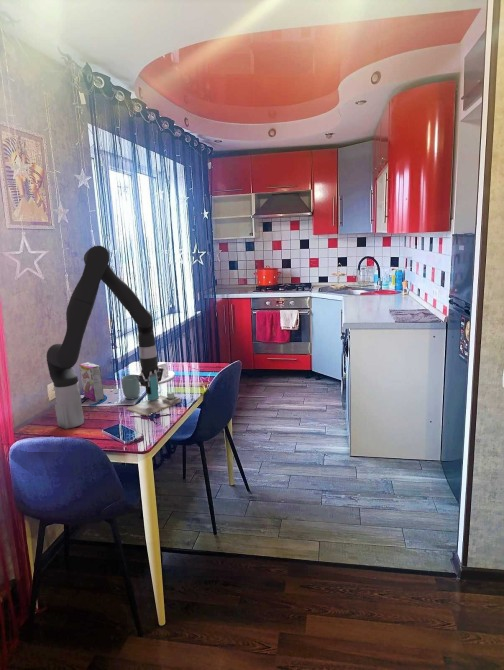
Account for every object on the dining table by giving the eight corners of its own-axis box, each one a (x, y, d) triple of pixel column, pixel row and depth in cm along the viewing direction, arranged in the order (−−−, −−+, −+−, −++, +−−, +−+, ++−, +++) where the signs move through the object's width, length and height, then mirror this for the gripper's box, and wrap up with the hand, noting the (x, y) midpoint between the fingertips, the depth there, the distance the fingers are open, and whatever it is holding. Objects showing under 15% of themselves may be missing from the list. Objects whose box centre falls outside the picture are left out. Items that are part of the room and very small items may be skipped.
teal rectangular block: (152, 401, 207) (149, 375, 205) (147, 399, 209) (144, 373, 207) (158, 398, 210) (156, 372, 207) (153, 397, 212) (150, 371, 209)
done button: (170, 400, 205) (170, 394, 204) (166, 399, 207) (165, 393, 206) (176, 398, 207) (175, 392, 207) (171, 396, 209) (170, 391, 209)
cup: (136, 400, 213) (134, 379, 211) (120, 400, 215) (118, 379, 213) (143, 394, 221) (141, 374, 219) (128, 394, 222) (126, 374, 220)
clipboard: (147, 416, 194) (146, 411, 193) (126, 409, 202) (125, 405, 202) (181, 401, 208) (180, 397, 208) (160, 396, 217) (159, 392, 216)
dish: (126, 389, 231) (123, 367, 229) (127, 375, 255) (124, 355, 253) (176, 382, 237) (174, 361, 234) (172, 369, 261) (170, 350, 258)
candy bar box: (83, 397, 222) (78, 364, 219) (93, 394, 226) (88, 361, 222) (95, 402, 215) (90, 367, 211) (105, 399, 218) (100, 365, 215)
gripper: (140, 360, 198) (145, 399, 201) (166, 352, 208) (170, 389, 212) (129, 358, 202) (134, 396, 206) (155, 350, 213) (159, 387, 217)
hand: (152, 392), depth 209 cm, fingers closed on teal rectangular block, 3 cm apart
